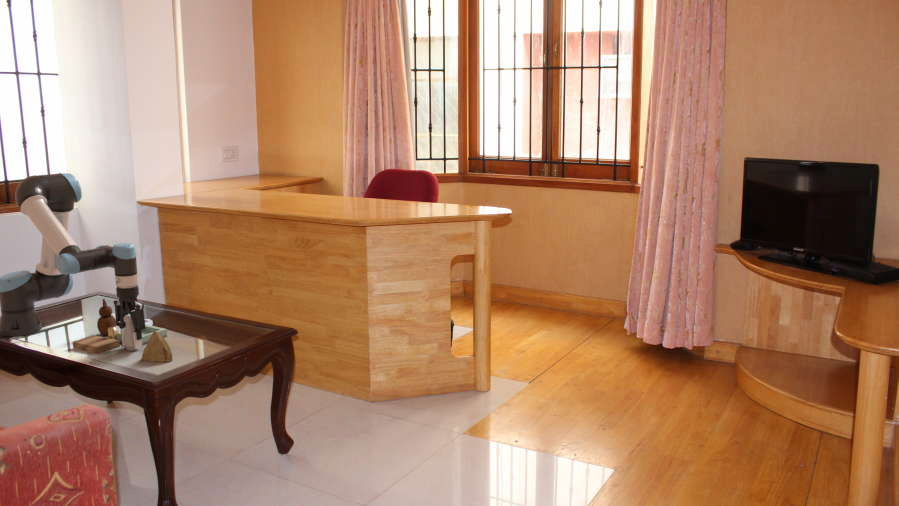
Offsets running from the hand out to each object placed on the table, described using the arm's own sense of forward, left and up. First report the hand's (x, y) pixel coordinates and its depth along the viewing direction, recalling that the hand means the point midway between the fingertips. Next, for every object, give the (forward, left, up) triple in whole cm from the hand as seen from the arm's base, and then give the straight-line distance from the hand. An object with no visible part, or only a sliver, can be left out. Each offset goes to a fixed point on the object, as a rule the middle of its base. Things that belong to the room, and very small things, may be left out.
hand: (132, 346), depth 282 cm
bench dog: (-12, +1, -1) cm, 12 cm away
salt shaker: (0, 0, -1) cm, 1 cm away
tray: (-7, +10, -1) cm, 12 cm away
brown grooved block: (-13, -5, -1) cm, 14 cm away
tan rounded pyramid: (+18, -4, -1) cm, 18 cm away
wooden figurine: (-23, +7, -1) cm, 24 cm away
